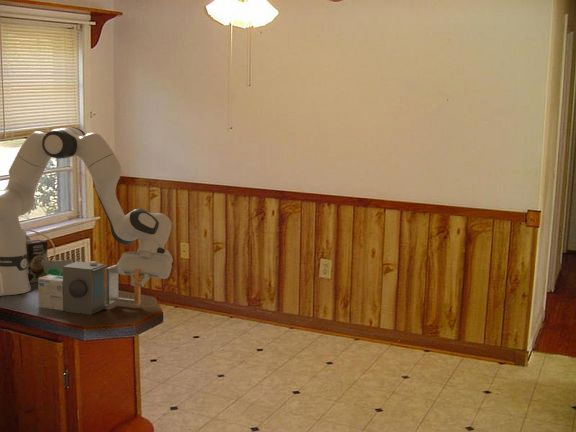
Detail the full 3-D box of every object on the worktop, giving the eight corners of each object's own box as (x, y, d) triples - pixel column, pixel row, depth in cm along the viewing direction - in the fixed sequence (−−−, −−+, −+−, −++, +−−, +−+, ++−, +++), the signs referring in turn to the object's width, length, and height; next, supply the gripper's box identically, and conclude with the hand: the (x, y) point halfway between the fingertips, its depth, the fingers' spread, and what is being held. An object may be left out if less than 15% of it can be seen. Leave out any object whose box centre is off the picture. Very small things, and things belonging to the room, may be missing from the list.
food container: (40, 287, 293) (39, 261, 291) (41, 283, 299) (40, 258, 297) (72, 286, 296) (72, 261, 294) (73, 282, 302) (73, 258, 300)
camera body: (60, 312, 259) (59, 264, 256) (77, 304, 269) (77, 258, 267) (91, 316, 255) (90, 268, 253) (107, 308, 266) (107, 261, 263)
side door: (106, 305, 266) (106, 268, 263) (115, 301, 272) (115, 264, 270) (132, 309, 263) (132, 270, 261) (140, 304, 269) (140, 267, 267)
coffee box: (28, 283, 297) (28, 243, 294) (19, 281, 301) (18, 241, 298) (48, 280, 304) (47, 240, 302) (39, 277, 308) (38, 238, 306)
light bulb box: (74, 306, 267) (74, 277, 266) (63, 311, 261) (62, 281, 260) (50, 302, 271) (49, 273, 269) (37, 307, 265) (37, 277, 263)
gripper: (120, 245, 275) (107, 277, 267) (171, 250, 269) (159, 283, 261) (126, 255, 279) (113, 287, 272) (177, 260, 274) (165, 292, 266)
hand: (136, 285), depth 266 cm, fingers closed on side door, 2 cm apart
